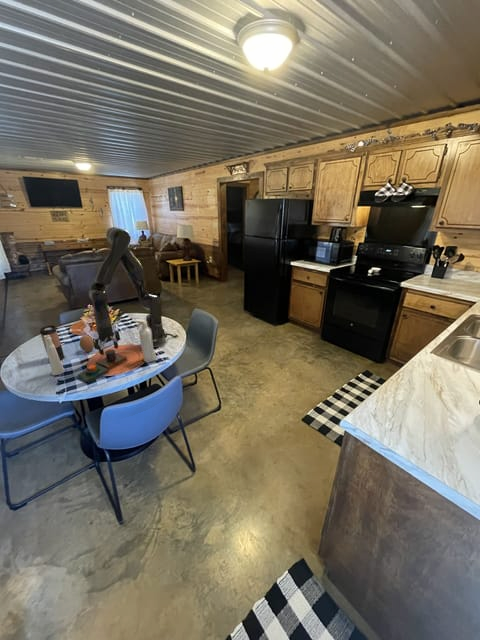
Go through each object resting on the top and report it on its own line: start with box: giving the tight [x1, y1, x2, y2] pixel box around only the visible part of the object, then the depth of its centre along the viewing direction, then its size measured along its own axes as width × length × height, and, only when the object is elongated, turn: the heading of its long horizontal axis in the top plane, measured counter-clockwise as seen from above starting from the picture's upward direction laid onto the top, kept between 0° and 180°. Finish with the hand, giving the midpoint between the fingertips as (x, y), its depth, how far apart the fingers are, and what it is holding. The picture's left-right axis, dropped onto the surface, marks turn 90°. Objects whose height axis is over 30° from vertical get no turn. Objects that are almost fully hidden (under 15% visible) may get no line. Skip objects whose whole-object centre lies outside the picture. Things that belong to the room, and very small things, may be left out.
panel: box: [96, 352, 128, 372], centre depth 149 cm, size 12×10×3 cm
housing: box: [77, 364, 109, 384], centre depth 138 cm, size 11×9×4 cm
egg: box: [79, 334, 95, 353], centre depth 161 cm, size 8×8×11 cm
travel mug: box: [39, 325, 65, 361], centre depth 150 cm, size 8×8×20 cm
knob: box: [104, 349, 116, 362], centre depth 148 cm, size 5×5×5 cm
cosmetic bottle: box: [44, 335, 66, 376], centre depth 137 cm, size 6×6×22 cm
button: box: [87, 364, 96, 371], centre depth 137 cm, size 4×4×2 cm
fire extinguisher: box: [134, 318, 159, 363], centre depth 148 cm, size 7×12×25 cm, turn 61°
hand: (109, 351), depth 146 cm, fingers open, 8 cm apart
